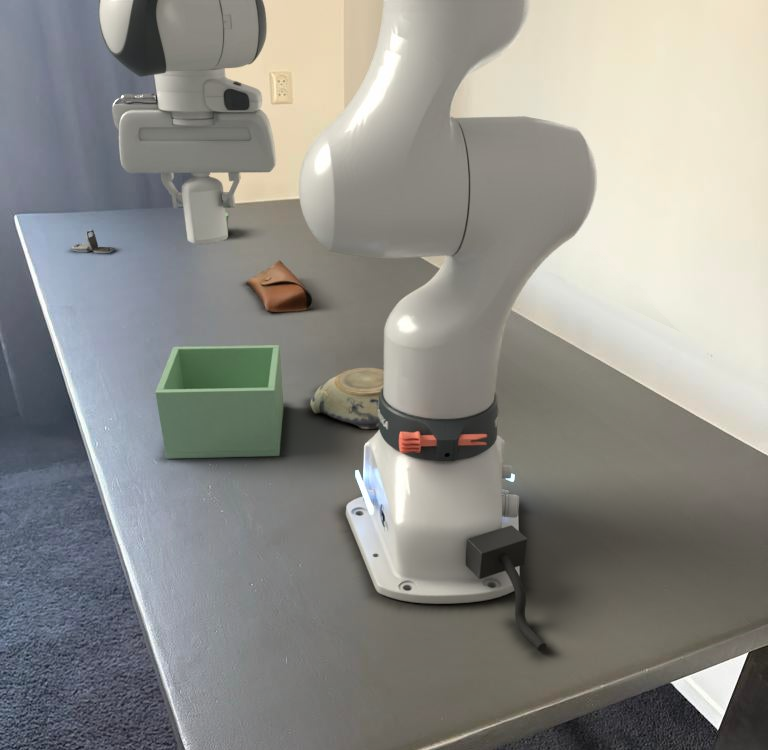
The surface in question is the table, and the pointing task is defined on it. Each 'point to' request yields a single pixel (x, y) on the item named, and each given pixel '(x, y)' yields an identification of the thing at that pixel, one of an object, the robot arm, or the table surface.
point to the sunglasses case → (280, 290)
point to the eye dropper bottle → (204, 209)
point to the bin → (221, 402)
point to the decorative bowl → (351, 397)
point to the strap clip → (91, 245)
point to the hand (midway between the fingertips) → (204, 207)
